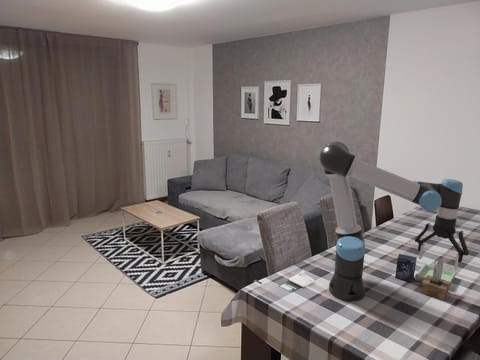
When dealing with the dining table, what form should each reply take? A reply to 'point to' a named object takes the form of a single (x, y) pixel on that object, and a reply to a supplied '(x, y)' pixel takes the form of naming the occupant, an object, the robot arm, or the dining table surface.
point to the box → (405, 267)
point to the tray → (429, 271)
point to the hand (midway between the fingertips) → (437, 263)
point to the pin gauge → (437, 271)
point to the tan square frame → (435, 288)
